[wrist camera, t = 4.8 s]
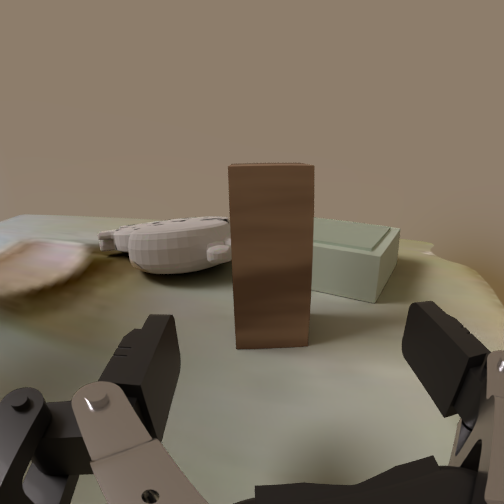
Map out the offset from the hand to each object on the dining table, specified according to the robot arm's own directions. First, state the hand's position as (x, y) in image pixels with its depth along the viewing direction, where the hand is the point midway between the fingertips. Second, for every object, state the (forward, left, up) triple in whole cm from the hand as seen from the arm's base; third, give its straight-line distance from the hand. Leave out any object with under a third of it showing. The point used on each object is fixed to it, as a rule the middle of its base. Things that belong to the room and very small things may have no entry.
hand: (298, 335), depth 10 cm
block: (+8, +6, -6) cm, 12 cm away
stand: (+21, +6, -6) cm, 23 cm away
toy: (+17, +25, -6) cm, 31 cm away
